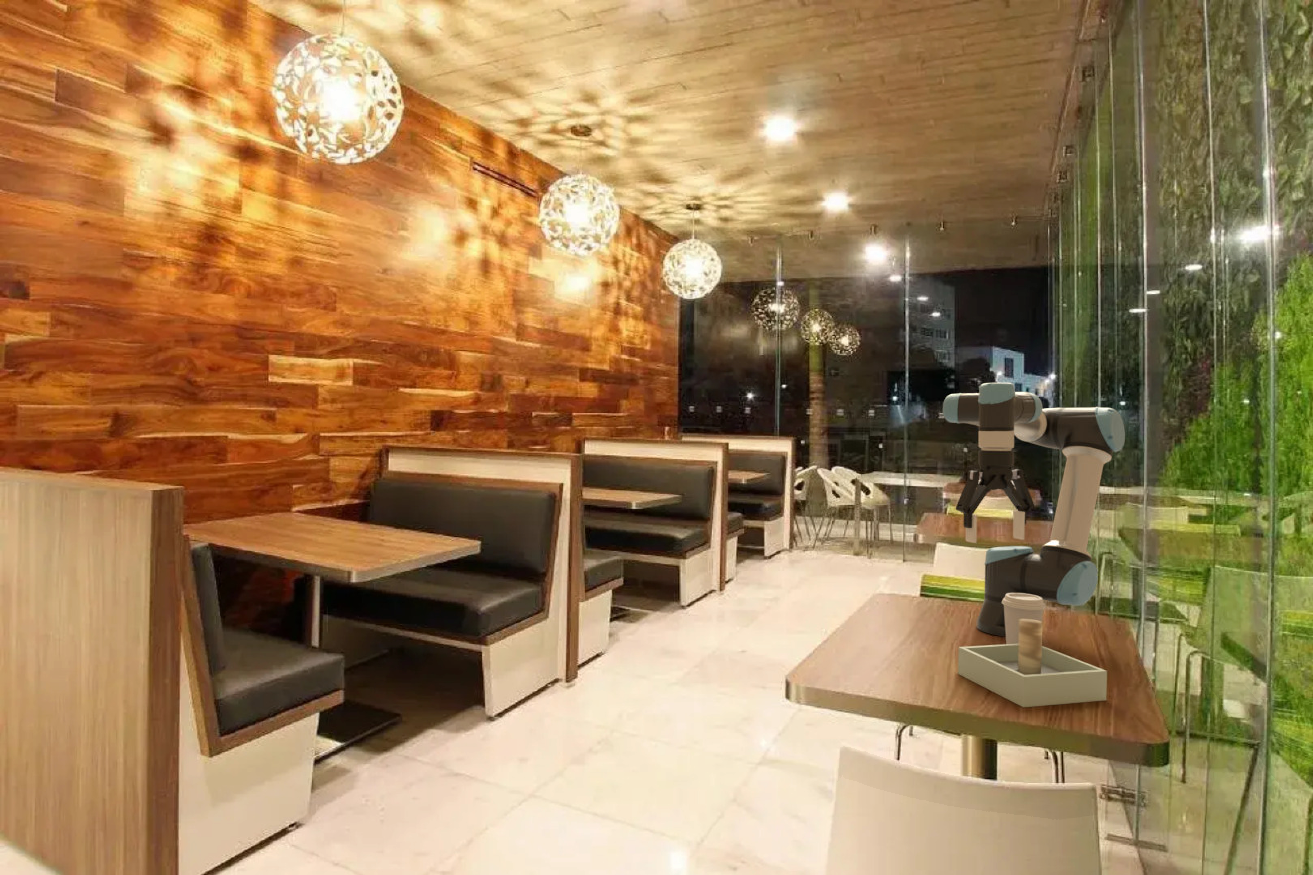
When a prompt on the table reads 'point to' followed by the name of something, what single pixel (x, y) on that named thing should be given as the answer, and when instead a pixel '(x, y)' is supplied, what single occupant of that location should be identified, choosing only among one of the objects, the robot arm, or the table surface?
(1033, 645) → the peg
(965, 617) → the table surface
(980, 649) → the grey-green open tray
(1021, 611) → the coffee cup
